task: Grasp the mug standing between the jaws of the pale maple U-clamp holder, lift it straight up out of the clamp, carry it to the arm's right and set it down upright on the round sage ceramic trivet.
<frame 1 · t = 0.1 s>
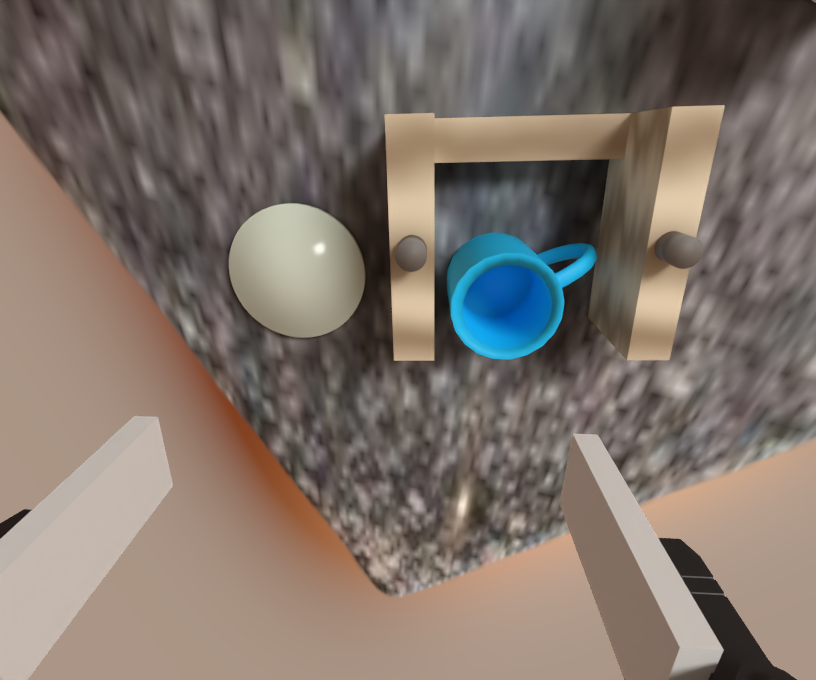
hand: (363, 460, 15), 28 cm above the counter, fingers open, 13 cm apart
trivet: (298, 272, 41), on the counter
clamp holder: (513, 269, 40), on the counter
mug: (512, 269, 41), on the counter
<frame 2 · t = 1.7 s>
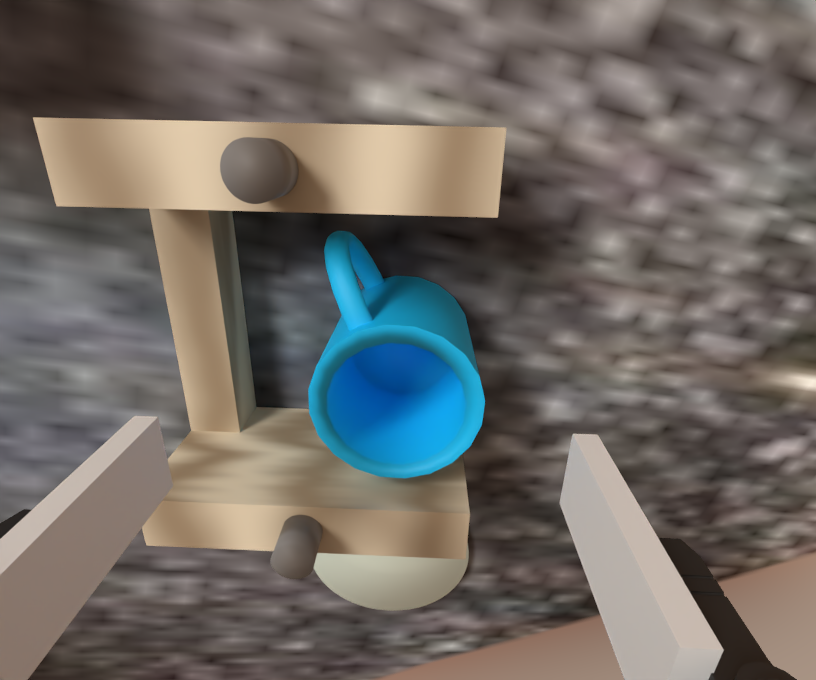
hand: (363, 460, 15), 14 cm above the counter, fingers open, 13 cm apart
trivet: (389, 546, 35), on the counter
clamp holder: (390, 312, 28), on the counter
mug: (391, 311, 28), on the counter
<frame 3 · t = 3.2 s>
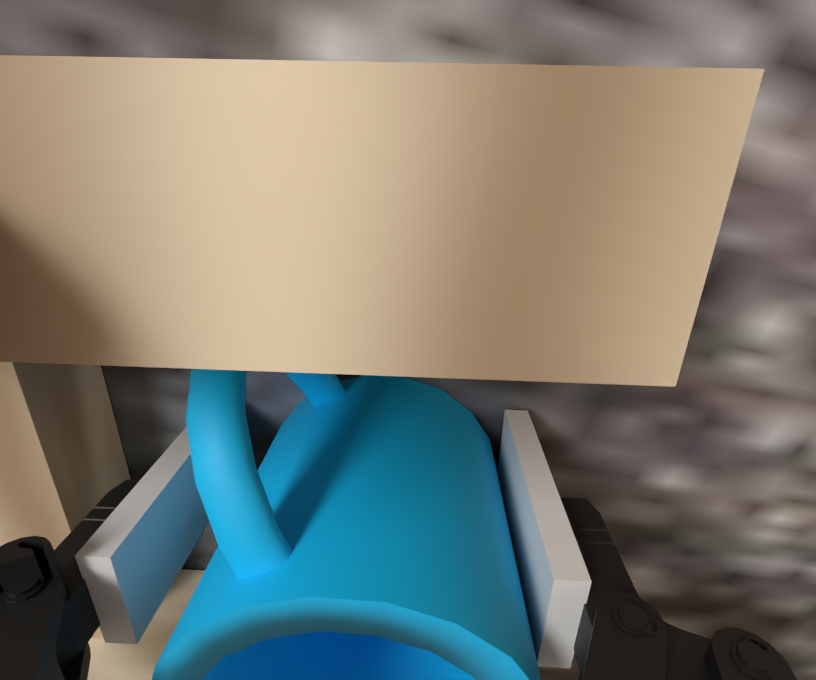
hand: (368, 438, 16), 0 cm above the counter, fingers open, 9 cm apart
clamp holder: (368, 434, 16), on the counter
mug: (361, 429, 16), on the counter, touching gripper
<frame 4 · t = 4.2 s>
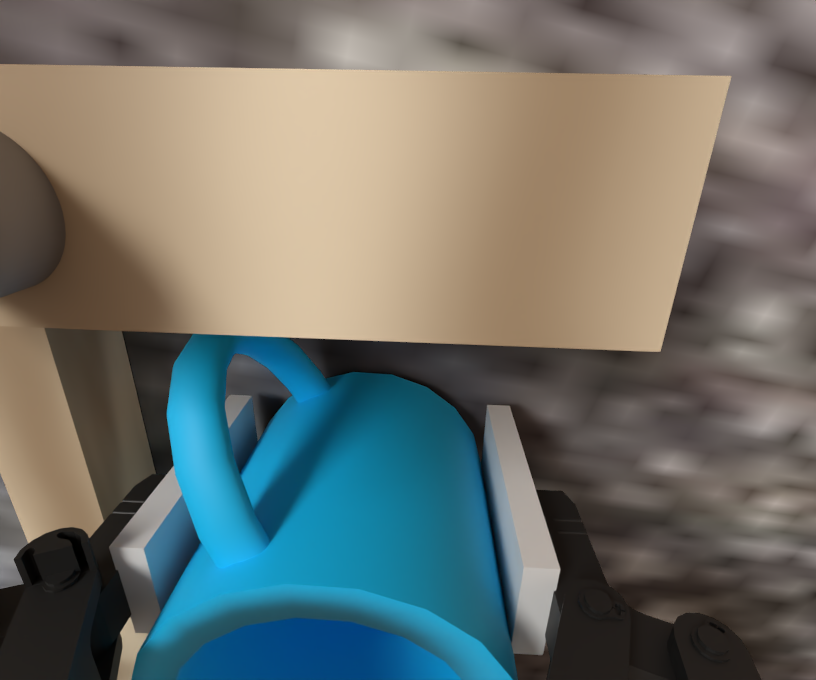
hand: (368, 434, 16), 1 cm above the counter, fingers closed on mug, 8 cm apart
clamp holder: (379, 419, 17), on the counter
mug: (347, 426, 17), on the counter, touching gripper
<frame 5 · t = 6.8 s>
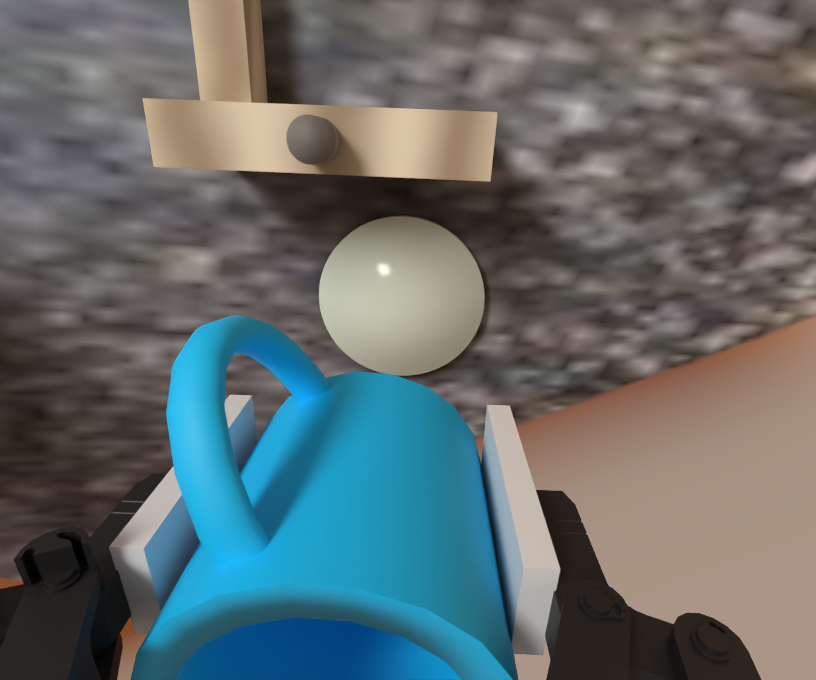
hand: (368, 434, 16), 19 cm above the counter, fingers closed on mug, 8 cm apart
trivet: (401, 298, 34), on the counter
mug: (347, 426, 17), point 19 cm above the counter, touching gripper
when the fingers open (2 cm above the counter, at t = 9.4 s): mug stays where it is, resting on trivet.
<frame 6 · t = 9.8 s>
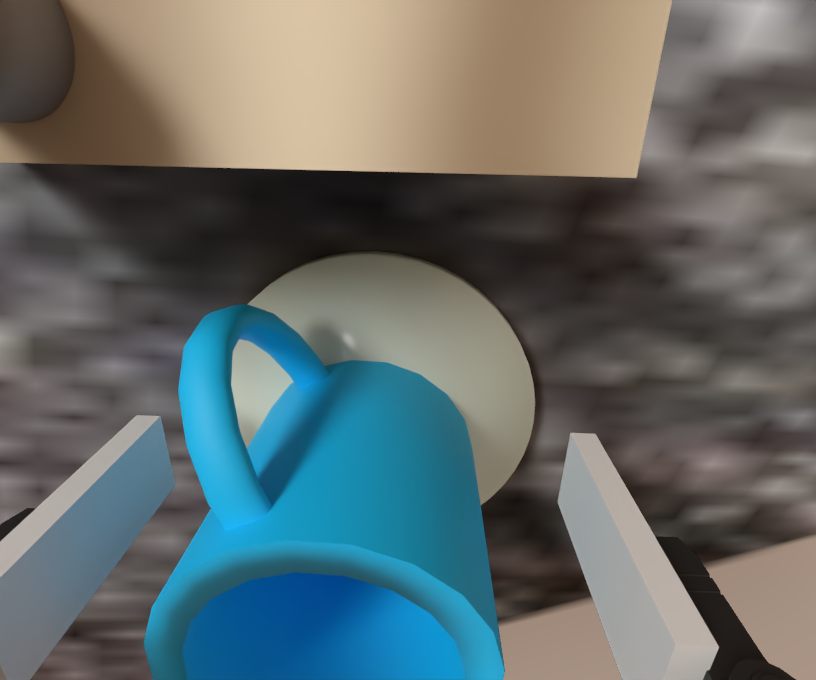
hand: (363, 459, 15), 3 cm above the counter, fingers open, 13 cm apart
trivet: (375, 403, 18), on the counter
mug: (345, 412, 18), point 1 cm above the counter, touching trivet
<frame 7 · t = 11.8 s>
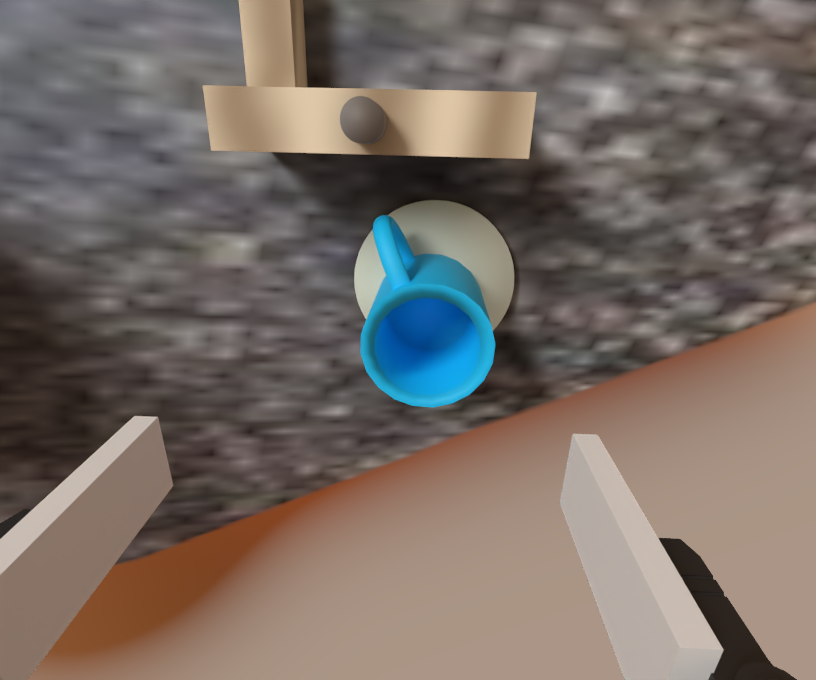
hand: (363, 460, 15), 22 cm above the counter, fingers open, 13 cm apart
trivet: (433, 280, 35), on the counter
mug: (419, 283, 35), point 1 cm above the counter, touching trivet
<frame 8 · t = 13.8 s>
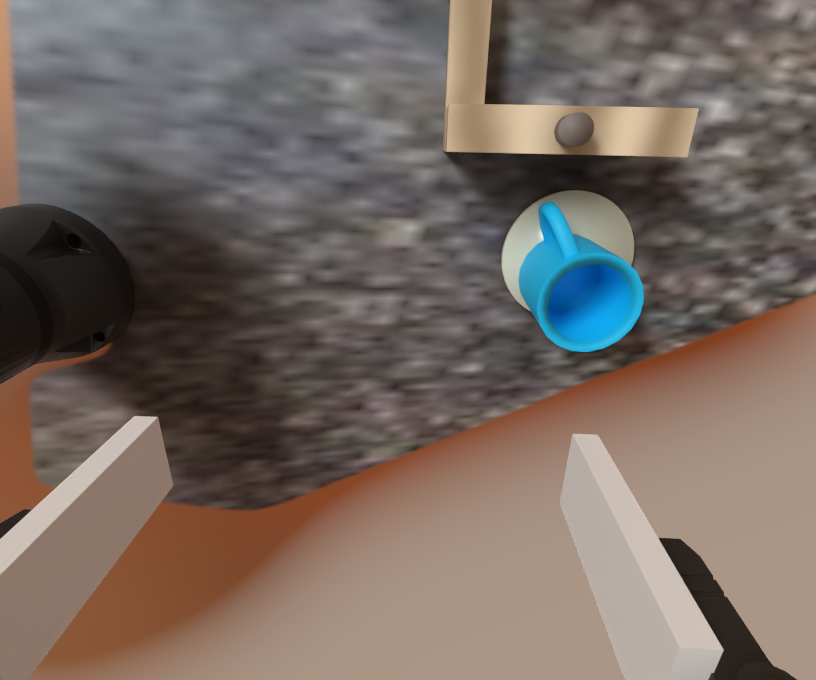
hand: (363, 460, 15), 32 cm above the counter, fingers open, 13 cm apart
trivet: (565, 256, 44), on the counter
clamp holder: (602, 16, 36), on the counter
mug: (555, 258, 43), point 1 cm above the counter, touching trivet
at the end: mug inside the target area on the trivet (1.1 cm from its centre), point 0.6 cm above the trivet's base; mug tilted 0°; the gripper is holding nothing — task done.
